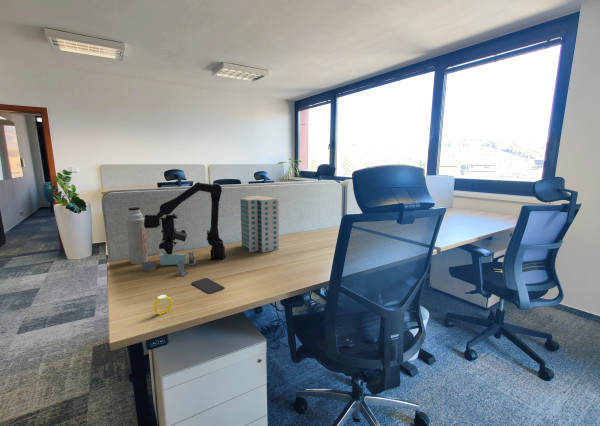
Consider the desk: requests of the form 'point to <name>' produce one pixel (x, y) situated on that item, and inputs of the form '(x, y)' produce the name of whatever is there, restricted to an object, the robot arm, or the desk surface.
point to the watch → (162, 297)
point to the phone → (208, 285)
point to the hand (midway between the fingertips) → (170, 257)
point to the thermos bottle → (136, 236)
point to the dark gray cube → (149, 266)
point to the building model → (259, 223)
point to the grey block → (181, 269)
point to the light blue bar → (172, 259)
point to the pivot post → (191, 259)
